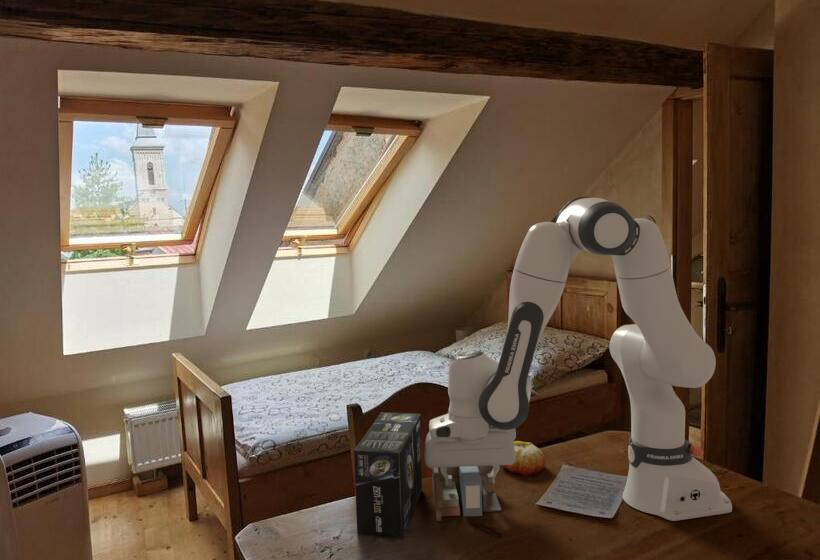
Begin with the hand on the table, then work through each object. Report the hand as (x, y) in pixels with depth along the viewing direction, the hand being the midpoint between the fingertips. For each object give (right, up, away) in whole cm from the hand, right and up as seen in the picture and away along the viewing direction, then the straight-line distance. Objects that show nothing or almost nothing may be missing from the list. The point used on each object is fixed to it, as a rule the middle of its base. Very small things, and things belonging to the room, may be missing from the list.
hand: (469, 483), depth 145 cm
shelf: (-1, -5, +1) cm, 5 cm away
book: (0, -5, 0) cm, 5 cm away
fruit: (+15, -3, +19) cm, 25 cm away
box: (-17, -6, -1) cm, 18 cm away
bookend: (+5, -5, +1) cm, 7 cm away
